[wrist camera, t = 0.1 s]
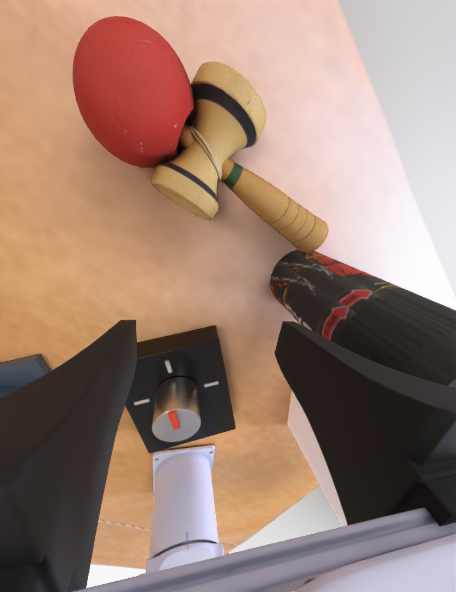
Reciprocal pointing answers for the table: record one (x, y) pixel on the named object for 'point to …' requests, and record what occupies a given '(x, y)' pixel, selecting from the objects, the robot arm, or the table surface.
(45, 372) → the button base
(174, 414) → the dial
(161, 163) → the kendama
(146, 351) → the hob panel
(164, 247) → the table surface
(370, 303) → the deodorant
